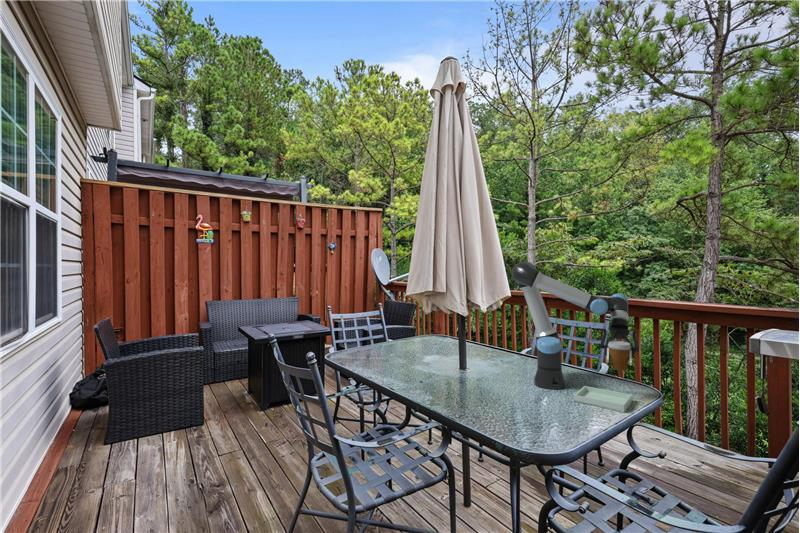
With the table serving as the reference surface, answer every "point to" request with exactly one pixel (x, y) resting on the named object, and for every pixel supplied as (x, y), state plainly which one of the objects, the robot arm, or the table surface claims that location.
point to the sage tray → (603, 398)
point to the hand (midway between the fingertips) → (619, 362)
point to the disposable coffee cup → (619, 354)
